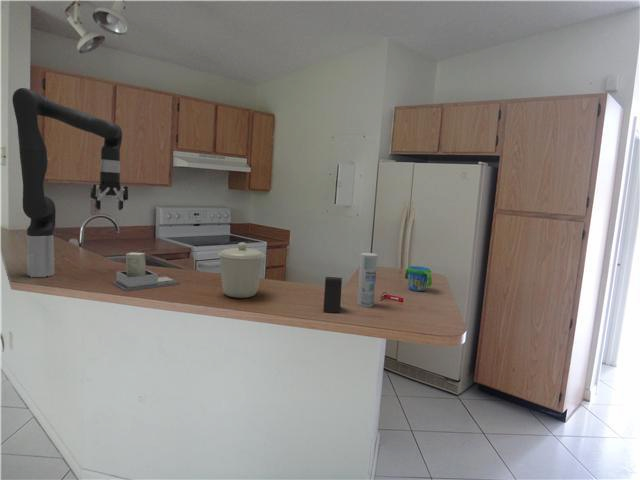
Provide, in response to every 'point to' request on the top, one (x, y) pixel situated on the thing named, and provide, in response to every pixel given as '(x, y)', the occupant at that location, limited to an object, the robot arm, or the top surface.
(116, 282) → the board
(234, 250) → the canister
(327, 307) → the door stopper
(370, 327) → the top surface
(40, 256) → the robot arm
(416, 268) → the snack cup
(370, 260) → the spray can
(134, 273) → the skincare box
